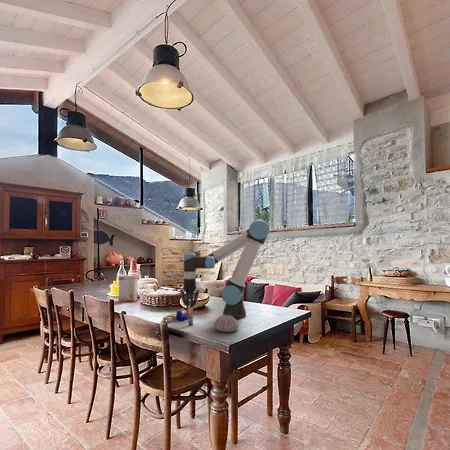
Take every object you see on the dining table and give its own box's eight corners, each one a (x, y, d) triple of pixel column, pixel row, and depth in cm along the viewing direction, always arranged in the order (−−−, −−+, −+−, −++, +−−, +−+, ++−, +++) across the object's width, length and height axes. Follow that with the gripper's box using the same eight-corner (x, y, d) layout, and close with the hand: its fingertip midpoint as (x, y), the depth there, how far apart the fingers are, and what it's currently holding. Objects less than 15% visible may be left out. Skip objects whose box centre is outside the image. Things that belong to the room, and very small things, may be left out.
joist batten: (186, 315, 192) (186, 311, 192) (170, 323, 173) (170, 318, 173) (179, 315, 194) (179, 310, 194) (162, 322, 175) (162, 317, 175)
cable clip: (181, 321, 177) (181, 311, 178) (176, 320, 180) (176, 310, 180) (195, 317, 187) (195, 308, 187) (189, 316, 190) (189, 307, 190)
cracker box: (137, 300, 244) (138, 275, 246) (134, 302, 238) (134, 276, 240) (121, 300, 246) (122, 275, 247) (118, 301, 240) (118, 275, 241)
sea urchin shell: (225, 325, 169) (225, 311, 170) (244, 329, 160) (243, 314, 161) (209, 330, 159) (209, 315, 160) (228, 335, 150) (227, 319, 151)
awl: (193, 324, 170) (193, 307, 171) (191, 325, 168) (191, 308, 168) (189, 324, 171) (189, 306, 172) (187, 325, 169) (187, 307, 169)
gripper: (177, 278, 181) (177, 317, 179) (197, 279, 177) (197, 318, 176) (182, 277, 188) (182, 314, 186) (201, 277, 184) (202, 316, 183)
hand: (189, 316), depth 181 cm, fingers closed
